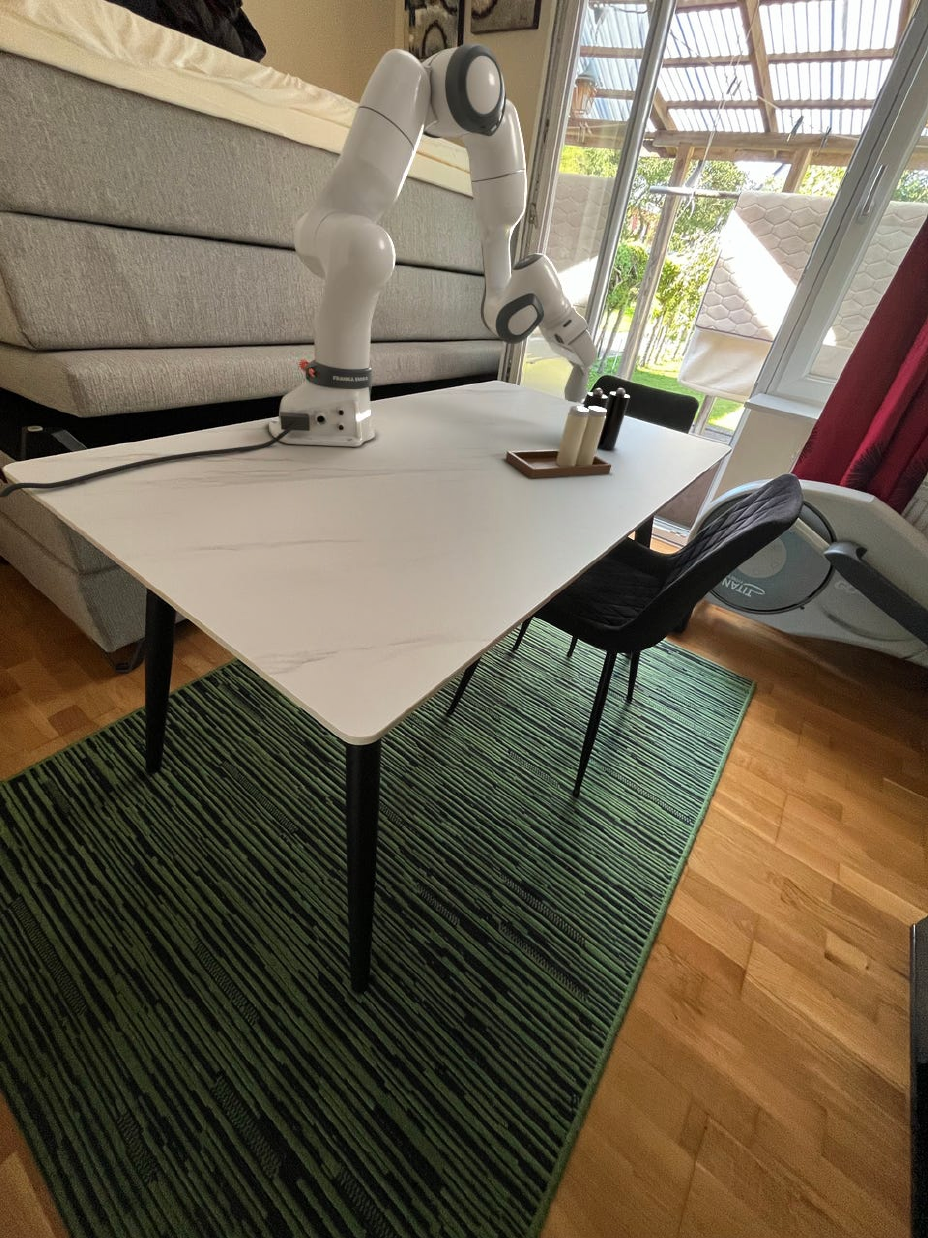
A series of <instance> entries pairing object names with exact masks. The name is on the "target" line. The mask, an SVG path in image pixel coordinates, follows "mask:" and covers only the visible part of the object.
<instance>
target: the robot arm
mask: <svg viewBox="0 0 928 1238" xmlns="http://www.w3.org/2000/svg"><path fill="white" fill-rule="evenodd" d="M423 136H425V137H428V138H431V139H442V138H460V140H461V141H462V143H463V145H464V147H465V150H466V153H467V157H468V166H469V167H468V169H469V178H470V187H471V192H472V193H471V194H472V200H473V205H474V210H475V214H476V218H477V224H478V229H479V230H478V231H479V234H480V239H481V241H480V242H481V255H482V266H483V276H484V277H483V278H484V289H483V295H482V298H481V304H480V319H481V321H482V323H483V325H484V326H485V328H486V329H487V330H488V331H490V332H491V333H493V334H494V335H495V336H497V338H499V339H500V340H501V341H502V342H504V343H506V344H509V345H517V344H519V343H522V342H523V341H525V340H526V339H527V338H528V337H529V336H530V335H531V334H532V333H533V332H534V331H535V330H536V329H537V328H538V329H539V331H540V333H541V335H542V337H543V338H544V340H545V342H546V343H548V345H549V347H550V349H551V351H552V352H553V353H554V354H556V355H558V356H559V357H562V358H564V359H565V360H567V362H568V363H569V364H570V365H571V367H572V368H573V367H574V364H575V363H576V364H578V365H579V366H580V371H581V372H582V373H583V375H585V376H586V375H587V374H588V375H589V374H590V373H591V369H590V368H591V367H592V366H593V365H594V364H595V363H597V361H598V359H599V354H598V351H597V348H596V345H595V343H594V340H593V338H592V336H591V334H590V332H589V330H588V329H587V328H588V327H589V325H588V322H587V320H586V319H585V318H584V317H583V316H582V315H580V313H579V312H577V310H576V308H575V307H574V306H573V303H572V302H571V301H572V300H571V299H570V298H569V296H568V295H567V294H566V292H565V291H564V285H563V281H562V280H561V277H560V275H559V274H558V272H557V270H556V269H555V267H554V265H553V263H552V262H551V260H550V259H549V257H548V256H547V255H546V254H543V253H539V252H534V253H531V254H528V255H526V256H524V257H521V259H519V260H518V261H517V262H516V263H515V264H514V265H513V267H512V268H511V252H510V248H511V247H510V245H511V244H510V242H511V237H512V234H513V231H514V229H515V227H516V225H517V224H518V223H519V222H520V220H521V218H522V217H523V215H524V213H525V209H526V202H527V201H526V200H527V172H526V171H527V170H526V159H525V150H524V142H523V136H522V131H521V125H520V121H519V116H518V112H517V109H516V106H515V105H514V103H513V102H512V101H511V100H510V99H508V98H507V92H506V89H505V81H504V76H503V72H502V69H501V67H500V64H499V60H497V57H496V56H495V54H494V52H492V50H491V49H490V48H489V47H488V46H486V45H484V44H480V43H477V42H465V43H463V44H461V45H459V46H455V47H451V48H445V49H442V50H440V51H438V52H437V53H434V54H433V55H431V56H430V57H428V58H425V59H423V60H421V61H420V60H419V59H418V58H417V57H416V56H414V55H413V54H412V53H410V52H409V51H407V50H404V49H401V48H392V49H390V50H388V51H386V52H385V53H384V55H382V57H381V58H380V60H379V62H378V64H377V65H376V67H375V69H374V71H373V72H372V74H371V76H370V78H369V80H368V82H367V84H366V86H365V88H364V91H363V93H362V95H361V98H360V101H359V103H358V106H357V107H356V111H355V113H354V117H353V119H352V122H351V125H350V127H349V131H348V133H347V135H346V139H345V141H344V144H343V147H342V150H341V153H340V155H339V157H338V159H337V161H336V163H335V165H334V167H333V169H332V171H331V173H330V174H329V176H328V178H327V179H326V181H325V182H324V184H323V186H322V188H321V190H320V191H319V192H318V194H317V196H316V198H315V200H314V201H313V203H312V205H311V206H310V208H309V209H308V210H307V212H306V213H304V215H303V216H301V217H300V218H299V219H298V221H297V223H296V225H295V227H294V231H293V244H294V250H295V253H296V254H297V257H298V259H299V260H300V262H301V263H302V264H303V265H304V267H306V269H308V270H309V271H310V272H312V273H313V274H314V275H315V276H316V277H318V278H320V279H324V287H323V292H322V298H321V300H320V301H321V302H320V305H319V308H318V310H316V312H315V314H314V317H313V334H314V335H313V338H314V339H313V341H314V359H313V360H312V361H310V362H309V361H308V360H307V359H305V358H302V359H300V361H299V362H298V366H299V368H300V370H302V371H303V372H304V373H305V374H304V375H305V380H304V381H302V382H301V383H299V384H298V385H297V386H296V387H294V388H293V389H292V390H290V391H289V392H288V393H286V394H285V395H283V397H282V399H281V400H280V404H279V410H278V411H279V412H278V417H276V418H271V420H269V423H268V430H269V433H270V434H271V436H273V439H271V440H269V441H266V442H263V443H259V444H254V445H245V446H236V447H229V448H220V449H209V450H200V451H193V452H186V453H178V454H172V455H165V456H160V457H153V458H150V459H149V458H148V459H145V460H140V461H135V462H131V463H126V464H123V465H118V466H114V467H110V468H106V469H103V470H98V471H95V472H91V473H88V474H84V475H80V476H76V477H72V478H68V479H65V480H64V479H63V480H60V481H55V482H18V483H13V484H11V485H9V486H7V487H5V488H4V489H3V490H2V491H1V492H0V498H7V497H8V496H10V494H12V493H13V492H15V491H17V490H22V489H38V490H39V489H41V490H48V489H57V488H62V487H68V486H71V485H75V484H79V483H82V482H85V481H89V480H92V479H96V478H99V477H103V476H108V475H111V474H115V473H119V472H123V471H126V470H130V469H131V470H132V469H135V468H140V467H144V466H148V465H149V466H150V465H153V464H158V463H164V462H169V461H174V460H182V459H189V458H196V457H203V456H211V455H212V456H213V455H214V456H215V455H222V454H224V455H225V454H231V453H237V452H246V451H255V450H259V449H263V448H267V447H269V446H272V445H274V444H276V443H277V442H281V443H284V444H288V445H289V444H290V445H307V446H308V445H309V446H332V447H360V446H361V445H363V443H365V442H367V441H370V440H372V439H373V438H375V436H376V431H375V428H374V422H373V417H372V416H373V415H372V408H371V394H372V386H373V374H372V366H371V364H370V363H371V361H370V360H371V339H372V338H371V337H372V325H373V318H374V314H375V311H376V307H377V303H378V299H379V296H380V294H381V290H383V287H384V286H385V285H386V284H387V283H388V282H389V280H390V279H391V277H392V275H393V272H394V270H395V265H396V251H395V246H394V243H393V241H392V239H391V237H390V235H389V234H388V232H387V231H386V229H384V228H383V227H382V226H381V225H379V224H378V223H377V222H378V221H379V220H380V219H381V217H382V216H384V214H385V213H386V212H387V211H388V210H389V209H391V208H392V207H393V206H394V205H395V203H396V201H397V200H398V198H399V196H400V193H401V191H402V188H403V186H404V183H405V180H406V178H407V175H408V172H409V170H410V168H411V165H412V161H413V159H414V158H415V156H416V155H415V154H416V152H417V149H418V147H419V144H420V141H421V138H422V137H423ZM511 269H512V270H511Z"/></svg>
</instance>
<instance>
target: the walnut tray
mask: <svg viewBox="0 0 928 1238" xmlns="http://www.w3.org/2000/svg"><path fill="white" fill-rule="evenodd" d="M558 451H559V449H537V450H536V449H534V450H533V449H532V450H508V451H506V456H505V461H506V462H508V463H509V464H510V465H512V466H513V467H514V468H516V469H517V470H519V471H520V472H521V473H523V474H524V475H525V476H527V477H528V478H530V479H544V478H545V479H547V478H560V477H562V478H563V477H578V476H592V475H593V476H594V475H606V474H607V475H609V474H610V472H611V469H612V464H611V463H609V462H607V461H605V460H603V459H602V458H600V457H598V456H596V455H595V457H594V460H593V463H592V465H580V466H579V465H576V464H575V466H559V465H557V464H556V460H557V455H558Z"/></svg>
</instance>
